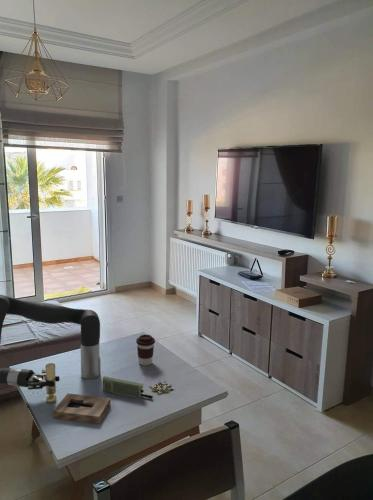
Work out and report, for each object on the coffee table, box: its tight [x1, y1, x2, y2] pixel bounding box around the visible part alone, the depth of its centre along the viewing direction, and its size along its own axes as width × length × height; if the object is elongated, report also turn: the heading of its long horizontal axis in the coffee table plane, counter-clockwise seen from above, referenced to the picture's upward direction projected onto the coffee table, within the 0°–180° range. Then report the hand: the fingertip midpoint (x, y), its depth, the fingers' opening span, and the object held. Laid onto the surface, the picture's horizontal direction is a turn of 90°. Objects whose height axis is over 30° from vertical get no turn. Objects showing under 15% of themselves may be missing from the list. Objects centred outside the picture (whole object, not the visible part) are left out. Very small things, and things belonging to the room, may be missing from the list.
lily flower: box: [150, 380, 171, 395], centre depth 193 cm, size 12×12×5 cm
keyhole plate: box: [52, 393, 111, 425], centre depth 172 cm, size 20×14×3 cm
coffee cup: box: [135, 334, 156, 366], centre depth 217 cm, size 10×10×15 cm
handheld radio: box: [102, 376, 154, 400], centre depth 187 cm, size 7×3×25 cm
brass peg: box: [45, 362, 57, 404], centre depth 178 cm, size 4×4×17 cm
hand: (56, 381), depth 178 cm, fingers closed on brass peg, 4 cm apart
